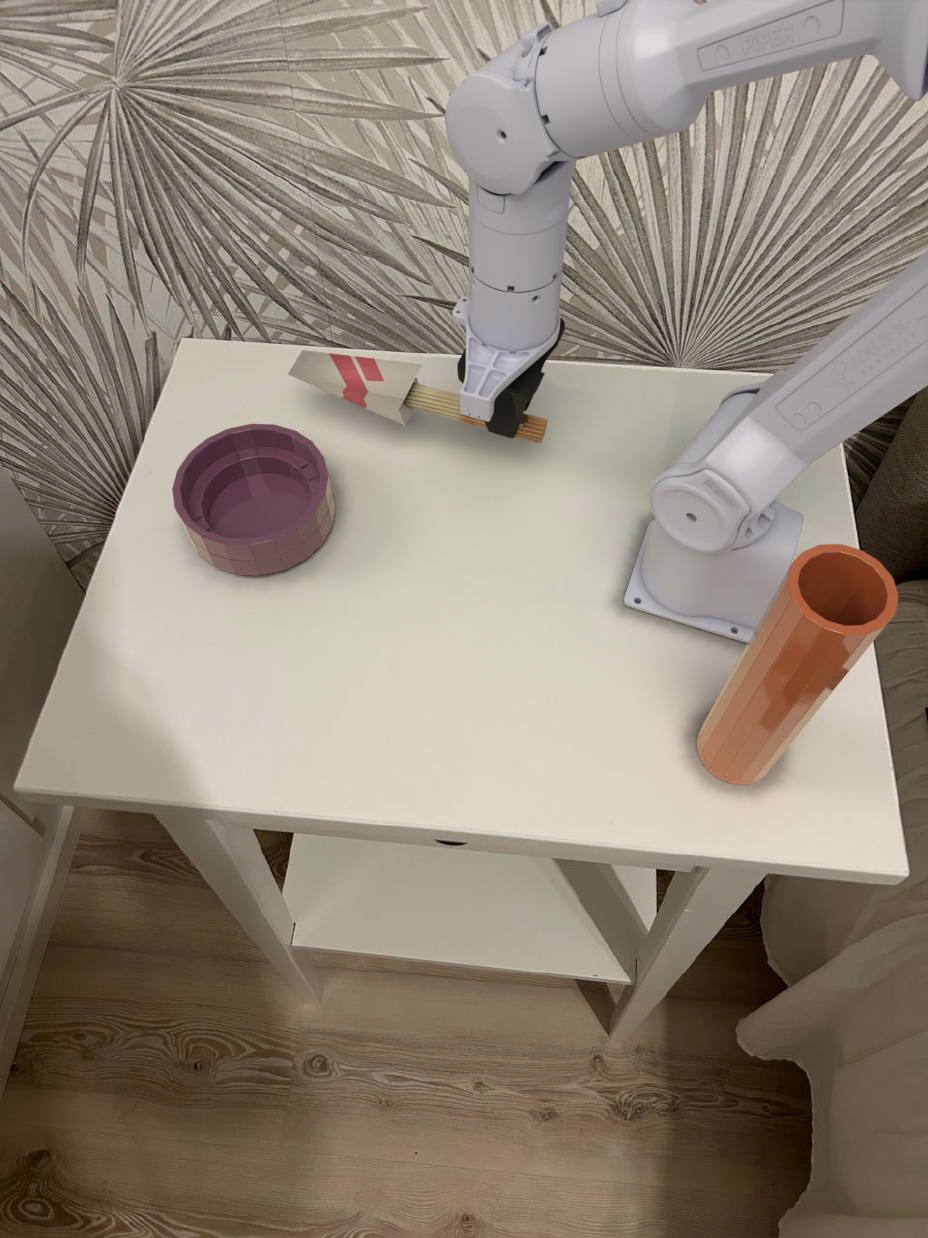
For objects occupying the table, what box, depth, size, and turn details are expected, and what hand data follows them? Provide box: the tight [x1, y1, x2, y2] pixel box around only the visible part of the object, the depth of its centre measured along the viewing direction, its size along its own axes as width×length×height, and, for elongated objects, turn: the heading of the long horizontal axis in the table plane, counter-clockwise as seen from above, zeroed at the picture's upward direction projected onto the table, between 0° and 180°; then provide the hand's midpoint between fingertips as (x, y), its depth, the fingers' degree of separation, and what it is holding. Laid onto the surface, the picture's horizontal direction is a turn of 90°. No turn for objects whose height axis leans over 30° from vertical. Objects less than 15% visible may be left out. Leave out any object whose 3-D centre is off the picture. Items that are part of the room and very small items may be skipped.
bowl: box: [171, 423, 336, 576], centre depth 67 cm, size 11×11×4 cm
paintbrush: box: [287, 349, 549, 444], centre depth 67 cm, size 4×3×20 cm
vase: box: [696, 543, 899, 786], centre depth 50 cm, size 5×5×20 cm
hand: (508, 417), depth 66 cm, fingers closed on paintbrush, 2 cm apart
